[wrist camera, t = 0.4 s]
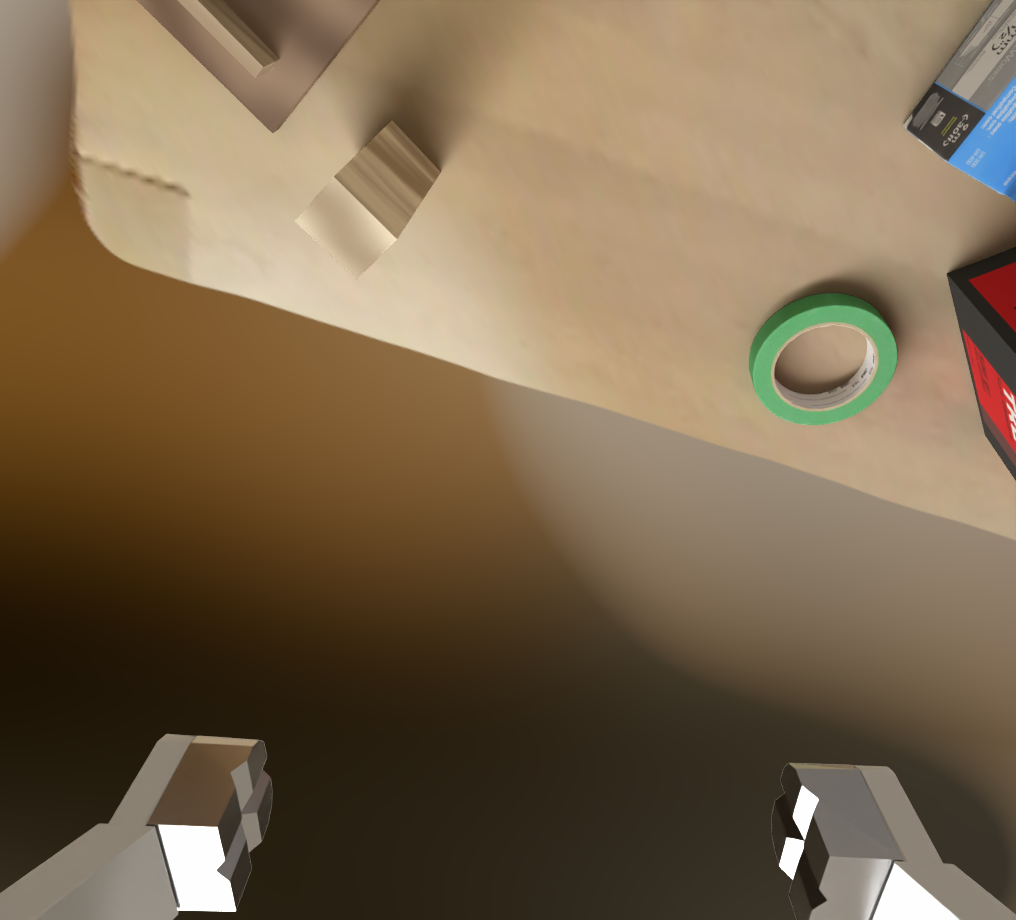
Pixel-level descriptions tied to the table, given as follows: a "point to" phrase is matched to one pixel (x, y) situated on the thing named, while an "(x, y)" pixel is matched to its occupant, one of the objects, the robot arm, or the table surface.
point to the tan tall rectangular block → (370, 200)
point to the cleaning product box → (991, 344)
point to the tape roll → (845, 397)
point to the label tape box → (976, 104)
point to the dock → (263, 44)
